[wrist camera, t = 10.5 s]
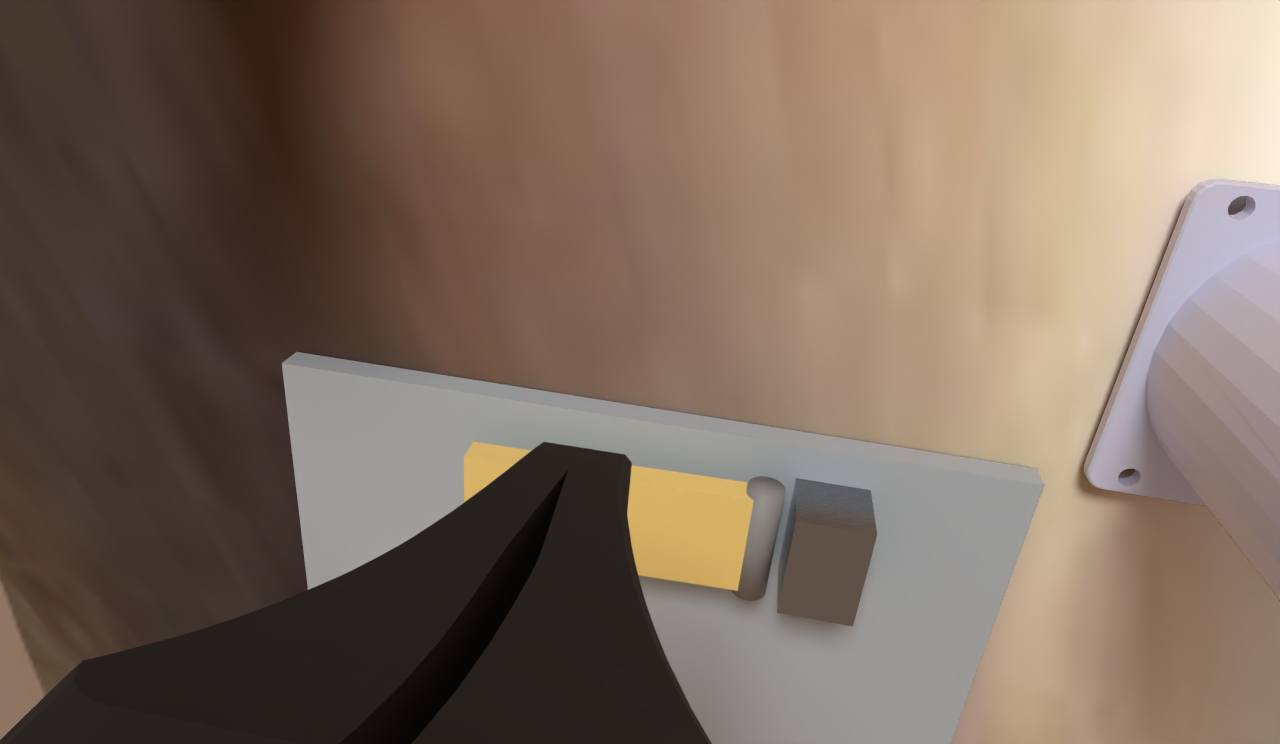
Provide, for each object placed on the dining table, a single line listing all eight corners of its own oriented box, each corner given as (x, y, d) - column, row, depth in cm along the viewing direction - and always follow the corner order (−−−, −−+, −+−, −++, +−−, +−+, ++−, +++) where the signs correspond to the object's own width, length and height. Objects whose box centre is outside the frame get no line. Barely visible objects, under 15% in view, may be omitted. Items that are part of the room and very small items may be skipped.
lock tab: (785, 479, 22) (786, 500, 21) (765, 579, 24) (765, 603, 23) (474, 433, 23) (462, 452, 22) (474, 533, 24) (463, 555, 23)
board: (1036, 468, 22) (1043, 484, 21) (894, 869, 30) (896, 891, 29) (296, 351, 24) (281, 363, 24) (339, 750, 32) (329, 768, 31)
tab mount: (871, 490, 22) (877, 535, 21) (848, 577, 24) (853, 626, 22) (796, 477, 23) (796, 520, 21) (778, 565, 24) (776, 612, 22)
